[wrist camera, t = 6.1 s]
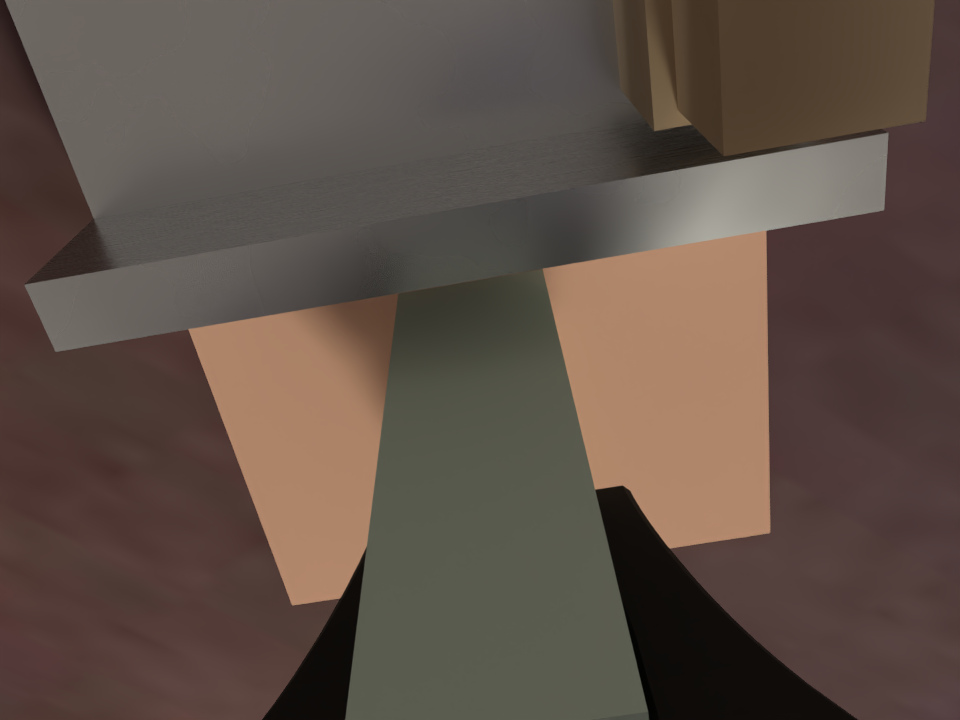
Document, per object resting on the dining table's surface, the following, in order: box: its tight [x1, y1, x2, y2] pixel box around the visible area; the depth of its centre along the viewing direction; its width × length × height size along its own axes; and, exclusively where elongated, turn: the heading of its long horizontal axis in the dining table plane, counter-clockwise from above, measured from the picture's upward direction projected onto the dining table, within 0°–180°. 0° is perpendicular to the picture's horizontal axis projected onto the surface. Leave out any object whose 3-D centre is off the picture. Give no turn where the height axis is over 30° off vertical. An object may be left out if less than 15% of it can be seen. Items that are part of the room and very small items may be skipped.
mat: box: [189, 231, 770, 605], centre depth 16 cm, size 10×7×1 cm
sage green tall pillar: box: [345, 269, 649, 720], centre depth 12 cm, size 2×6×9 cm, turn 10°
